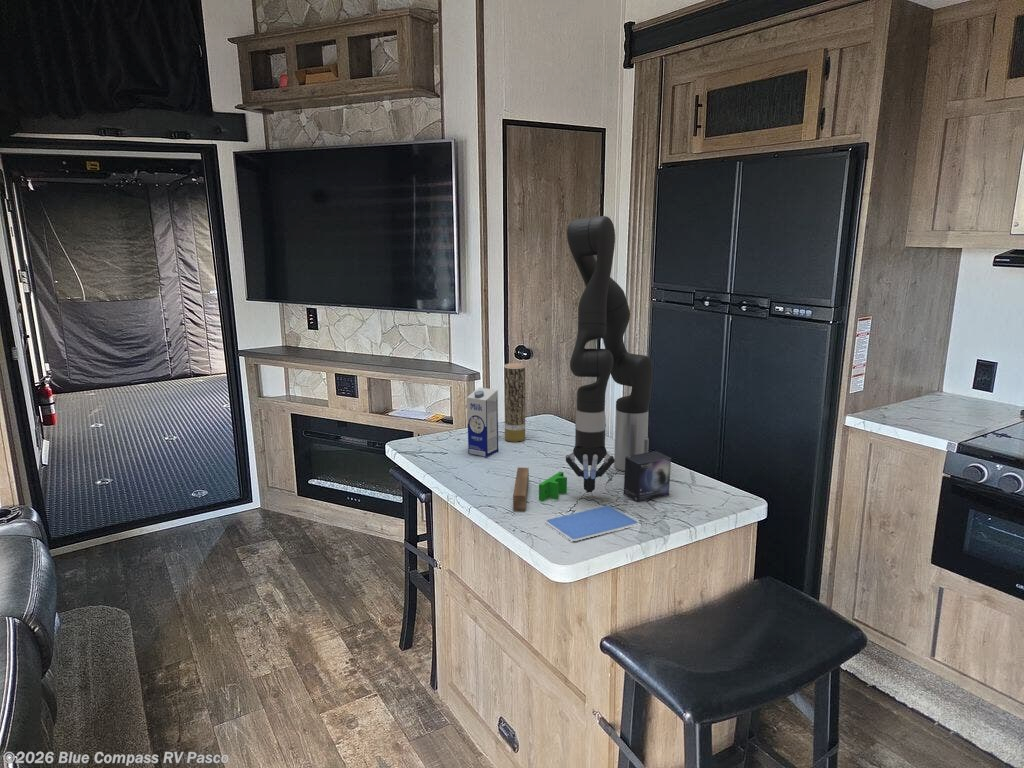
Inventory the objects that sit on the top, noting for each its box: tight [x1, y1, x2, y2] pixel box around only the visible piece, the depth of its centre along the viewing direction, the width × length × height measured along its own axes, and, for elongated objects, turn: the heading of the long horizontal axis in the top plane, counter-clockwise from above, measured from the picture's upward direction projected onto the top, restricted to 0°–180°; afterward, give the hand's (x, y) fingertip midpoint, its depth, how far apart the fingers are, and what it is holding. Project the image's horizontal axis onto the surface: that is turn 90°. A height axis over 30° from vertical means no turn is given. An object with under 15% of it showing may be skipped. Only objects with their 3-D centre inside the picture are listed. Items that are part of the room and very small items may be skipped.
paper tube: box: [503, 362, 526, 443], centre depth 220 cm, size 7×7×25 cm
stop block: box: [512, 467, 530, 512], centre depth 176 cm, size 3×20×4 cm, turn 176°
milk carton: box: [466, 386, 499, 458], centre depth 208 cm, size 7×7×20 cm
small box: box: [623, 450, 672, 503], centre depth 175 cm, size 11×6×10 cm, turn 118°
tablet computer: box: [544, 505, 640, 541], centre depth 159 cm, size 19×13×1 cm, turn 119°
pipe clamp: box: [538, 471, 568, 502], centre depth 176 cm, size 11×4×5 cm, turn 147°
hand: (589, 491), depth 175 cm, fingers closed
